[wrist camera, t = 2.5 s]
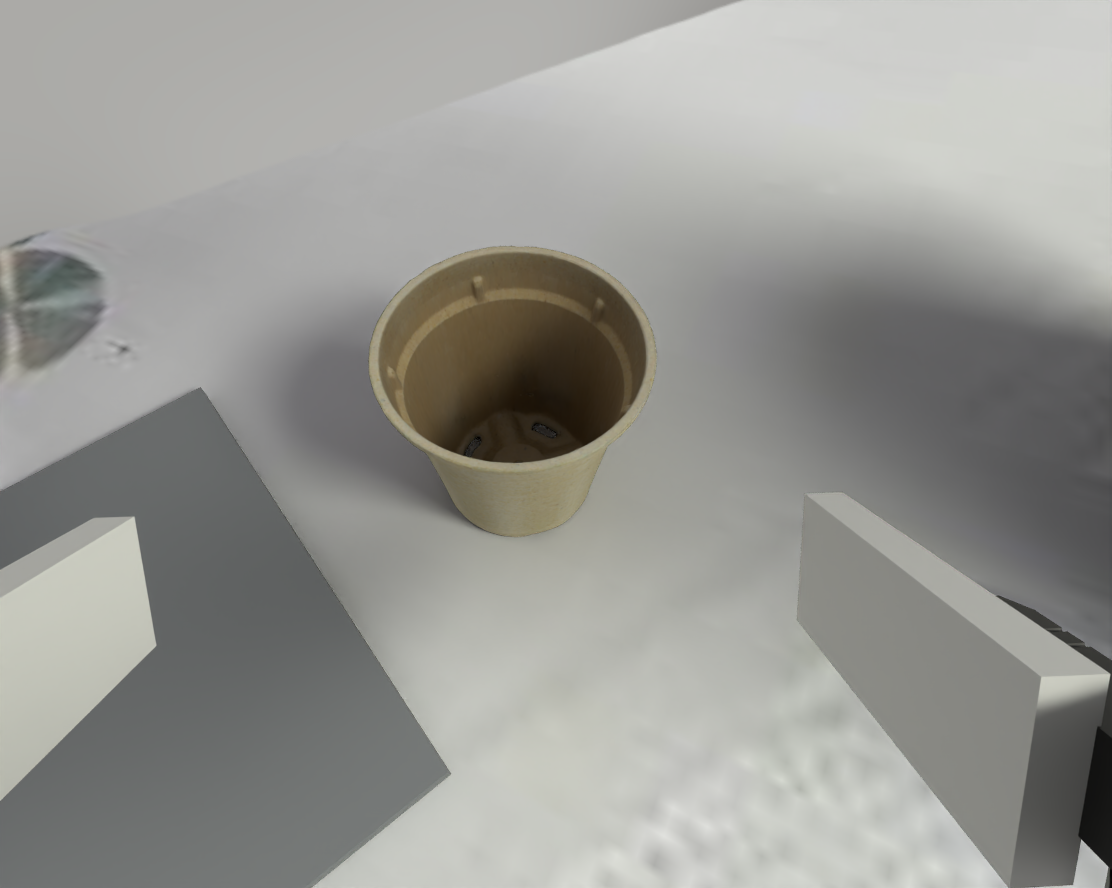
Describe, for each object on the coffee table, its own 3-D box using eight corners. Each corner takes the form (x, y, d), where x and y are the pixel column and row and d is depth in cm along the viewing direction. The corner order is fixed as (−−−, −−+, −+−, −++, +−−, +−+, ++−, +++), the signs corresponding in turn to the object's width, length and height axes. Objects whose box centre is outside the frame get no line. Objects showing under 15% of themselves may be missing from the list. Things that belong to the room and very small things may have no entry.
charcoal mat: (451, 773, 24) (448, 771, 23) (-46, 1177, 19) (-68, 1188, 18) (207, 397, 32) (200, 387, 32) (-188, 606, 27) (-207, 600, 26)
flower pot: (631, 391, 33) (656, 251, 25) (629, 584, 28) (659, 480, 20) (430, 379, 33) (397, 237, 26) (393, 568, 28) (338, 460, 21)
